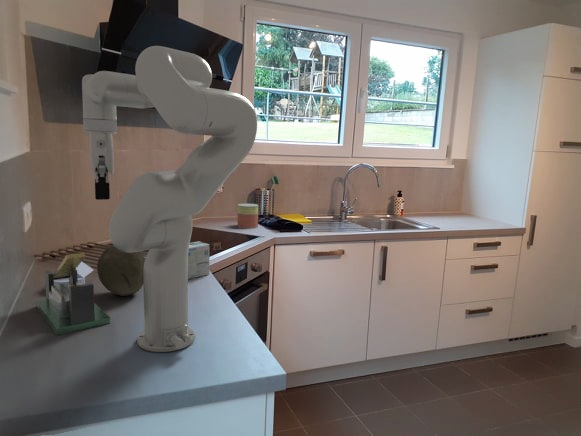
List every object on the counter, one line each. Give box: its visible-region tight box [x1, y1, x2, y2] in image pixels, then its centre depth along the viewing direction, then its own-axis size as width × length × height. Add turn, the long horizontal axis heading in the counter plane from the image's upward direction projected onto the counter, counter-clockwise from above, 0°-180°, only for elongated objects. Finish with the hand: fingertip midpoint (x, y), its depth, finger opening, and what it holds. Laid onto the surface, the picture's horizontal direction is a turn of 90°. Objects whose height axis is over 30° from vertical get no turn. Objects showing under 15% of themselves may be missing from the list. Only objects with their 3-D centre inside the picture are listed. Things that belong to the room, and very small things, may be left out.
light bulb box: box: [188, 240, 210, 280], centre depth 151 cm, size 11×7×11 cm, turn 134°
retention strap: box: [53, 252, 86, 280], centre depth 114 cm, size 19×4×2 cm
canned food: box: [236, 203, 259, 230], centre depth 243 cm, size 11×11×12 cm
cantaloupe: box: [96, 244, 146, 297], centre depth 130 cm, size 14×14×15 cm
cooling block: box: [35, 269, 111, 336], centre depth 114 cm, size 22×12×10 cm, turn 40°
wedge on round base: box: [54, 260, 94, 290], centre depth 136 cm, size 9×7×13 cm
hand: (102, 196), depth 112 cm, fingers open, 9 cm apart
